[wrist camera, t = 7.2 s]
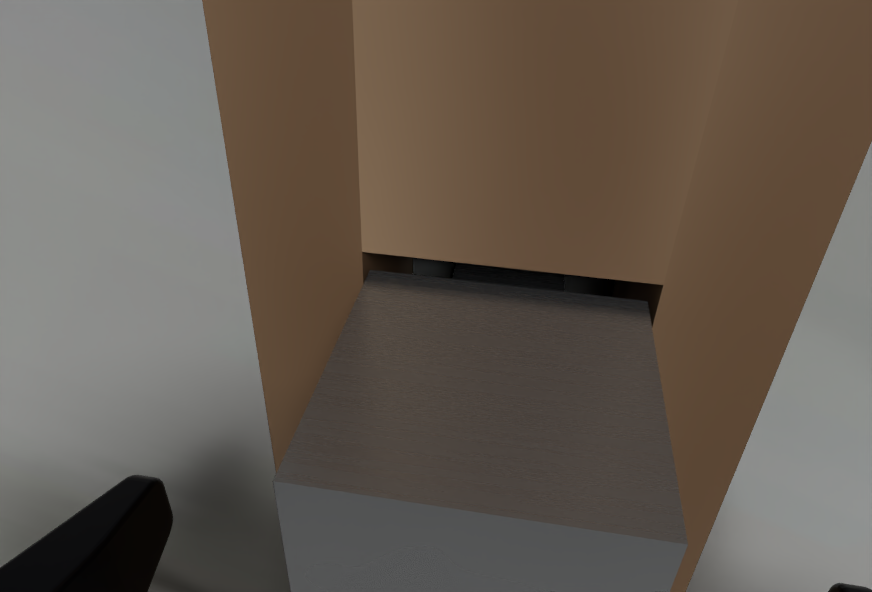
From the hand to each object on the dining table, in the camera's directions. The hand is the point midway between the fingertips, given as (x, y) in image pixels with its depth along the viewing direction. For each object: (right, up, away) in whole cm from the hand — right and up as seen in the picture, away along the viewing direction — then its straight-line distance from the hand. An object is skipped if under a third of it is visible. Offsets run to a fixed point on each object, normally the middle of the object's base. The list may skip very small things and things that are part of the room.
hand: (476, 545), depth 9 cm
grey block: (+1, +2, +3) cm, 4 cm away
